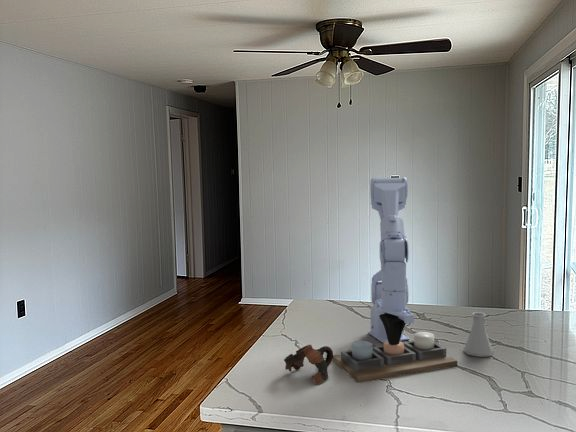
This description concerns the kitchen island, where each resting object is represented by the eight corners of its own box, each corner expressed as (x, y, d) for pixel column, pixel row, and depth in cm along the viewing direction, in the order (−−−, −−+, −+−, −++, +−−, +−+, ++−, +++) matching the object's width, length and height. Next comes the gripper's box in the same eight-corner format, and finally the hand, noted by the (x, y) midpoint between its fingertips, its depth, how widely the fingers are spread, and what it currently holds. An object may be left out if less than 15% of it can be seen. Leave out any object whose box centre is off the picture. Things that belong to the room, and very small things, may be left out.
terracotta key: (380, 354, 127) (380, 341, 127) (397, 351, 129) (397, 339, 128) (390, 361, 123) (390, 348, 122) (407, 358, 124) (407, 345, 124)
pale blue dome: (348, 355, 124) (348, 342, 124) (366, 352, 126) (366, 339, 126) (357, 362, 120) (357, 349, 120) (376, 359, 122) (375, 346, 121)
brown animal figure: (309, 392, 112) (290, 358, 114) (290, 395, 120) (273, 363, 121) (348, 365, 119) (331, 332, 120) (328, 370, 127) (312, 339, 128)
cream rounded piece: (410, 345, 130) (410, 333, 130) (426, 343, 131) (427, 330, 131) (421, 352, 125) (421, 339, 125) (438, 349, 127) (438, 336, 127)
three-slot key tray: (332, 360, 128) (332, 347, 128) (423, 345, 137) (423, 334, 136) (358, 383, 115) (358, 369, 115) (457, 365, 124) (457, 352, 123)
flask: (496, 358, 127) (496, 319, 126) (464, 357, 129) (465, 317, 128) (490, 348, 134) (491, 310, 133) (461, 346, 136) (461, 309, 135)
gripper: (364, 283, 129) (364, 336, 131) (394, 298, 116) (394, 357, 117) (389, 281, 132) (389, 333, 133) (422, 294, 118) (421, 352, 120)
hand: (393, 344), depth 125 cm, fingers closed, pressing on terracotta key
